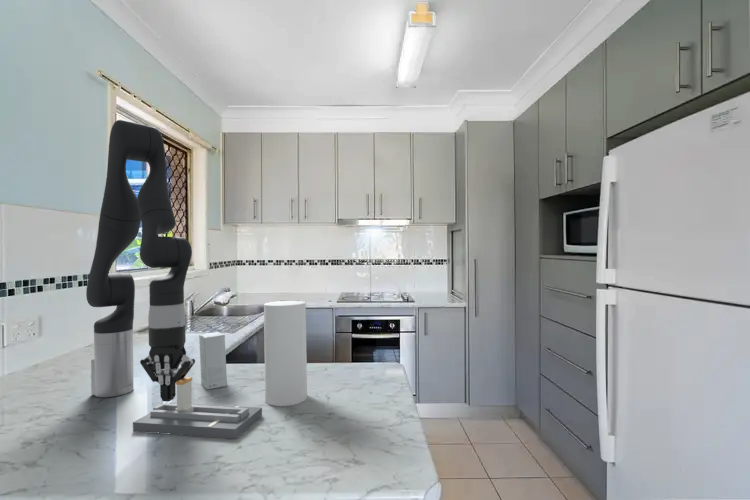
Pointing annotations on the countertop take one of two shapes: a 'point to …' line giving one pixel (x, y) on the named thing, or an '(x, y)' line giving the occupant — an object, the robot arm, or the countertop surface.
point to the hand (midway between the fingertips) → (168, 400)
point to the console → (199, 420)
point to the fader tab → (184, 395)
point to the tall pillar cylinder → (285, 352)
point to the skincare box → (213, 360)
